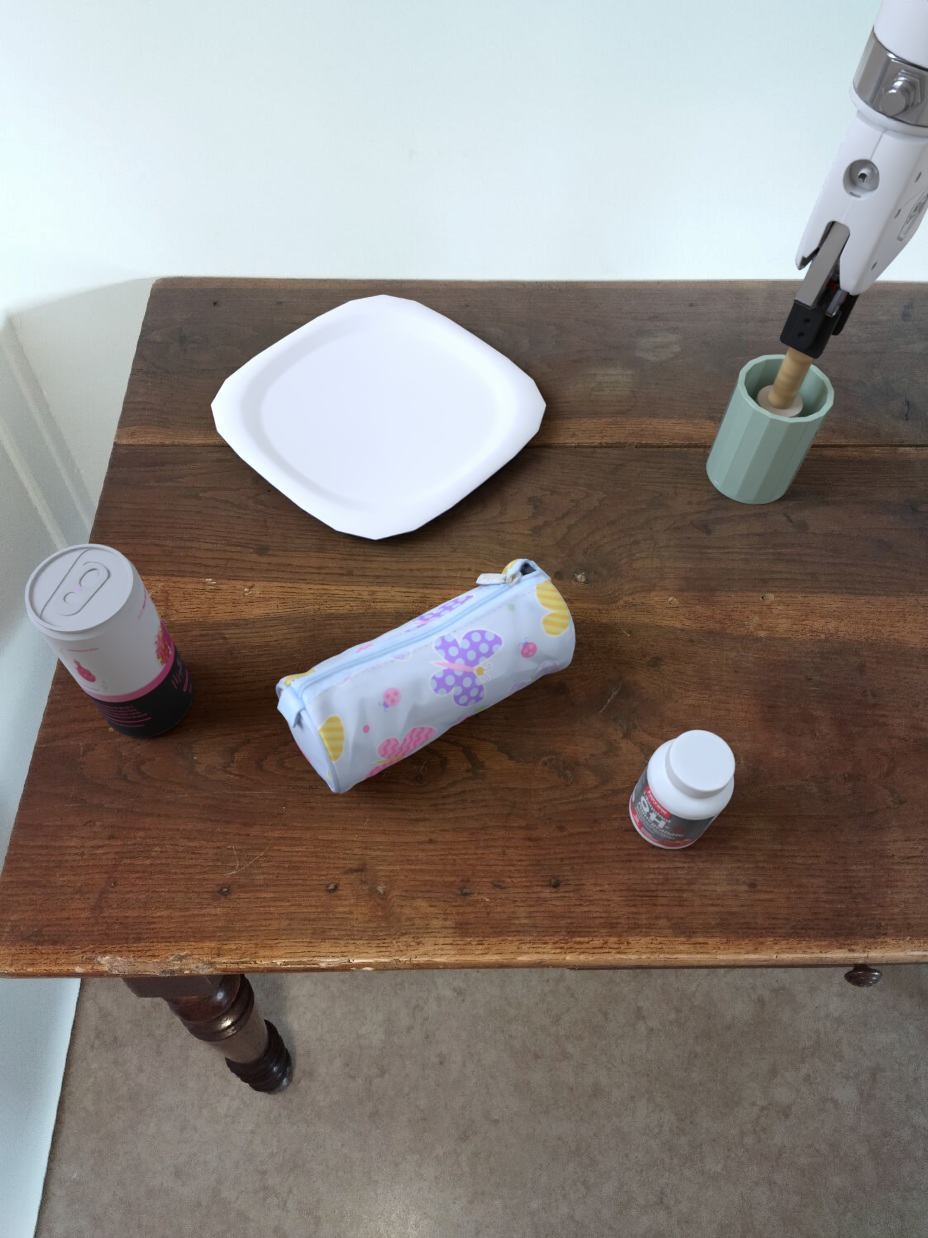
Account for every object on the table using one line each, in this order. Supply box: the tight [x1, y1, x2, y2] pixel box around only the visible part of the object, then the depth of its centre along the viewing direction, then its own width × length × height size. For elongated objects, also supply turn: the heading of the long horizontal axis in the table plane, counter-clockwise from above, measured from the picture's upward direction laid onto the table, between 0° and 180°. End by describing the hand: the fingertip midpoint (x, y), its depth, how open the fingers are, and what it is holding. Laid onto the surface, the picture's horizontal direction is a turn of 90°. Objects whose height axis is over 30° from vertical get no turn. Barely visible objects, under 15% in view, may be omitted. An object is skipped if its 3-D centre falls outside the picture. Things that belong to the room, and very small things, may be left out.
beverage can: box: [24, 543, 195, 738], centre depth 58 cm, size 7×6×15 cm
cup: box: [705, 353, 835, 505], centre depth 74 cm, size 7×7×10 cm
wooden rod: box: [755, 280, 848, 418], centre depth 68 cm, size 4×4×18 cm
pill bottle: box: [628, 729, 736, 850], centre depth 57 cm, size 5×5×10 cm
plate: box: [210, 294, 547, 542], centre depth 79 cm, size 25×25×2 cm
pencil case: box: [275, 558, 576, 795], centre depth 61 cm, size 21×9×10 cm, turn 123°
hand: (810, 335), depth 65 cm, fingers closed on wooden rod, 2 cm apart
